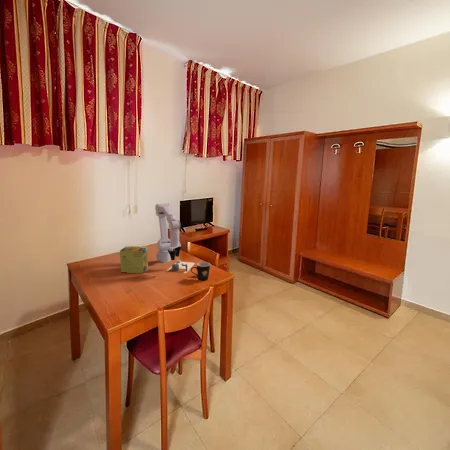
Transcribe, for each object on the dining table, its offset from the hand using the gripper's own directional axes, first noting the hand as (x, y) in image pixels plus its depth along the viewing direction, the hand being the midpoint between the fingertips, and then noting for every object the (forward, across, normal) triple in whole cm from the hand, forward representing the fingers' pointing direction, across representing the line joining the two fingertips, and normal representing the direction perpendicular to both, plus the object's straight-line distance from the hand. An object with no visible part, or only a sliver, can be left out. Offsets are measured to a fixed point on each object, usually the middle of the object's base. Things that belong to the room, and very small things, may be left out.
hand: (175, 258), depth 171 cm
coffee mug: (+10, -6, -20) cm, 23 cm away
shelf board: (+10, +6, -2) cm, 12 cm away
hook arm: (+8, 0, -7) cm, 11 cm away
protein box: (+10, -4, +28) cm, 30 cm away
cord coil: (+10, 0, 0) cm, 10 cm away
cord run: (+8, +9, +3) cm, 13 cm away
